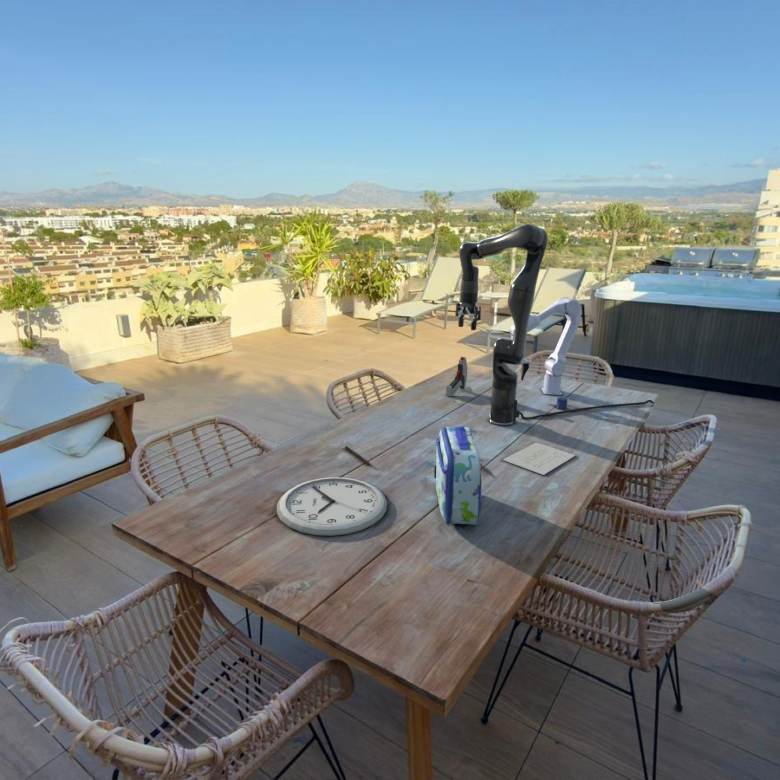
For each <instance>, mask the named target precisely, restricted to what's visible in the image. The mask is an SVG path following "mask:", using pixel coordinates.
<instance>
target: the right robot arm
mask: <svg viewBox="0 0 780 780" xmlns="http://www.w3.org/2000/svg"><path fill="white" fill-rule="evenodd" d="M582 307H583V306H582V305H581V303H580V301H579V300H577V299H574V298H570V297H568V296H563V297H561V298H560V299H558V300H555V302H554V303H552V304H551V305H550V306H548V307H546V309H545V308H544V309H543V310H542V311H541V312H539V313H537V314H532V315H531V314H530V318H529V323H528V329H527V334H529V332H531V331H533V330H535V329H536V328H538V327H539V326H540V325H541V322H543V321H544V320H546V319H548V318H550V317H552V316H553V315H556V314H564V316H565V317H566V319H567V320H566V323H565V325H564V328H563V330H562V333H561V334H560V337H559V339H558V341H557V344H556V347H555V348H554V351H553V352H552V353H551V354H549V357H548V358H546V359H545V362H544V368H545V370H546V372H545V375H544V379H543V387H541V388H540V389H541V391H542V392H543V394H544V395H551V396H552V395H553V396H563V393H562V392H561V385H562V379H563V377H562V376H563V374H564V373H565V371H566V364H567V359H566V356H567V354H568V351H569V349H570V346H571V344H572V342H573V339H574V338H575V335H576V333H577V330H578V328H579V326H580V323H581V321H582V313H581V310H582ZM509 334H510V339H513V340H514V338H515V325H514V324H512V325H511V327H510V329H509ZM506 364H507V365H509V364H508V363H506ZM532 364H533V361H532V360H531V359H523V360H522V361H521V363H520V364H518V365H519V366H520V365H521V376H520V380H521V381H524V379H525V376H526V374H527V372H528V370H529V369H530V366H532Z"/></svg>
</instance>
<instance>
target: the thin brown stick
mask: <svg viewBox="0 0 780 780" xmlns="http://www.w3.org/2000/svg"><path fill="white" fill-rule="evenodd" d="M344 449H345V450H346V451H348V452H349V453H350V454H352V455H353V456H355V457H356V458H358V459H359V460H361V461H362V462H363V463H364V464H366V465H370V461H368V460H367V459H366V458H364V457H363V456H361V455H360V454H358V453H357V452H356V451H354V450H353V449H352V448H350V447H348V446H347V445H345V446H344Z"/></svg>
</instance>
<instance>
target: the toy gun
mask: <svg viewBox="0 0 780 780" xmlns="http://www.w3.org/2000/svg"><path fill="white" fill-rule="evenodd" d="M467 379H468V362H467V357H466V356H460V358H459V360H458V363H457V370H456V375H455V377H454V379H453V380H452V381H451V382H450V383H449V384H448V385H446V388H445V395H446V396H447V397H452V396H454V395H455V394H456V393H457V391H459V389H460V390H463V391H465V390H466V386H467Z"/></svg>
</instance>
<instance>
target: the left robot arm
mask: <svg viewBox="0 0 780 780" xmlns="http://www.w3.org/2000/svg"><path fill="white" fill-rule="evenodd" d="M548 239H549V236H548V233H547V231H546V230H545V229H544V228H542V227H538V226H537V225H535V224H532V223H525V224H521V225H520V226H517V227H515V228H513V229H511V230H509V231H507V232H505V233H503V234H500V235H497V236H496V235H495V236H493V237H487V238H484V239H481V240H480V241H478V242H463V243H462V244H461V245H460V247H459V251H458V257H459V262H460V267H461V282H460V289H459V290H460V291H459V302H456V303H455V304H456V305H455V317H457V318H458V321H457V322H458V323H457V325H458V328H463V327H464V321H465V319H464V318H465V316H468V317H469V319H470V320H471V322H470V330H471V331H476V330H477V324H478V323H477V322H480V321H481V320H482V319H481V317H482V307H481V306H480V305H479V306H477V302H478V299H479V276H480V275H479V273H480V269H479V266H476V265H474V264H473V261H478V260H482V259H485V258H488V257H489V258H490V257H494V256H498V255H501V254H502V253H504V252H505V251H506V250H508V249H521V250H523V251H525V252H526V257H525V261H524V265H523V267H522V268H521V270H520V271H519V273H518V274H517V275H516V276H515V277H514V279H513V281H512V282H511V284H510V288H509V291H508V297H507V306H508V311H509V313H510V316H511V319H512V321H513V325H515V338H514V340H513V339H511V338H505V337H499V338H498V339H496V340H495V342H494V345H493V349H492V388H491V399H490V410H489V411H490V412H489V415H488V416H489V422H490V423H491V424H494V425H497V426H511V425H513V424H516V423H517V419H518V418H520V417H521V419H522V420H533V419H538V418H544V417H549V416H556V415H561V414H567V413H574V412H581V411H586V410H595V409H603V408H614V407H615V408H616V407H624V406H625V407H627V406H639V405H645V404H649V403H651V404H654V401H653V400H652V399H647V400H645V401H640V402H625V403H615V404H604V405H595V406H594V405H593V406H588V407H580V408H573V409H565V410H562V411H561V410H559V411H555V412H549V413H544V414H537V415H532V416H529V417H527V416H524V413H523V412H522V411H520V410H519V409H518V399H517V388H518V377H519V376H518V373H517V372H516V371H514V370H513V369H512V368H510V366H509V365H515V366H518V365H519V364H520V363H521V361H522V360H524V357H525V352H526V345H527V339H528V337H527V336H528V333H527V329H528V323H529V318H530V315H531V312H532V307H533V303H534V298H535V294H536V289H537V283H538V278H539V273H540V269H541V265H542V263H543V259H544V256H545V253H546V249H547V246H548V241H549V240H548ZM506 363H508V364H506Z"/></svg>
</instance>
